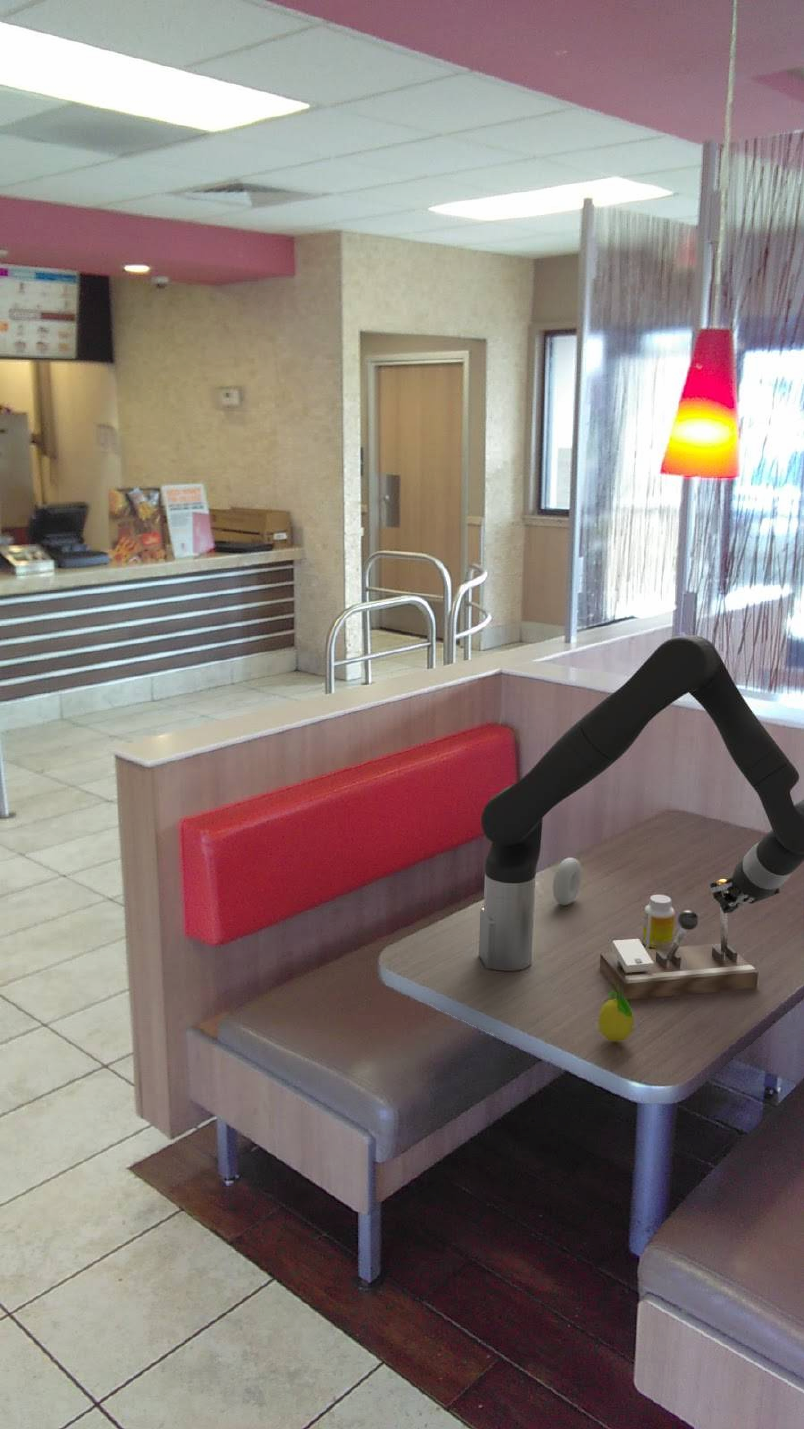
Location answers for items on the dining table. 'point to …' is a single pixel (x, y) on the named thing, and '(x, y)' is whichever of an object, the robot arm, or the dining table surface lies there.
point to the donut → (567, 881)
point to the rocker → (632, 955)
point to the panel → (682, 972)
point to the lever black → (682, 930)
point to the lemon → (616, 1018)
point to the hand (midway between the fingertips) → (725, 907)
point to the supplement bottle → (658, 923)
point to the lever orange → (723, 925)
